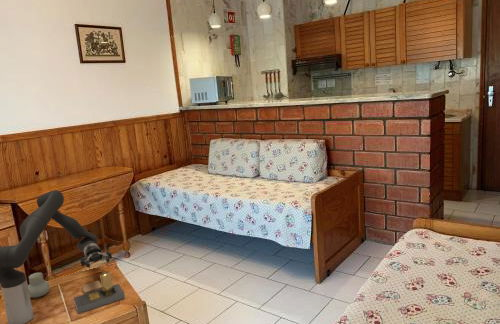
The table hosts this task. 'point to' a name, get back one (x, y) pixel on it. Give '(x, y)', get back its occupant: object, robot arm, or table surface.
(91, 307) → the rack plate
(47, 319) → the table surface
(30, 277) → the air freshener
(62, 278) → the table surface
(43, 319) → the table surface
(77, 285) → the table surface
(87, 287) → the pad
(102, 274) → the peg
